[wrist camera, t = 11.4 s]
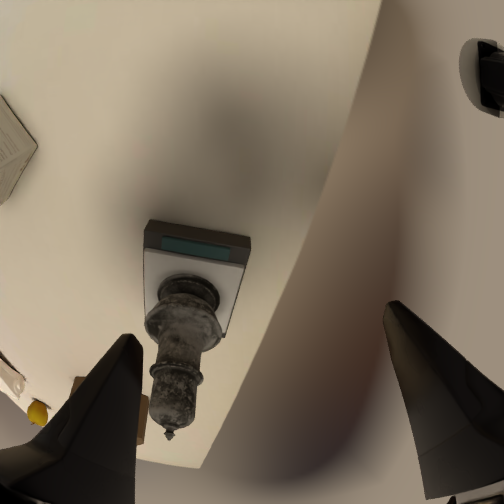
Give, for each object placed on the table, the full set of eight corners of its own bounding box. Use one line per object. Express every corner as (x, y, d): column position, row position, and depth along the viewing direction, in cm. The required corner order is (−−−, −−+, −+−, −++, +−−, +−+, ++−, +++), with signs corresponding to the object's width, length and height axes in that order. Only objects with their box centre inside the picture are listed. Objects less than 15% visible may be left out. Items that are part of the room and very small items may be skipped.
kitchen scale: (149, 219, 20) (141, 233, 19) (250, 237, 22) (251, 253, 20) (148, 313, 26) (144, 328, 25) (225, 325, 28) (224, 342, 26)
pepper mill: (234, 312, 24) (234, 450, 14) (175, 325, 24) (156, 450, 15) (206, 261, 20) (188, 424, 10) (140, 280, 21) (99, 420, 11)
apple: (29, 397, 49) (22, 420, 42) (34, 396, 47) (26, 420, 41) (47, 408, 52) (41, 431, 46) (53, 407, 50) (47, 431, 44)
